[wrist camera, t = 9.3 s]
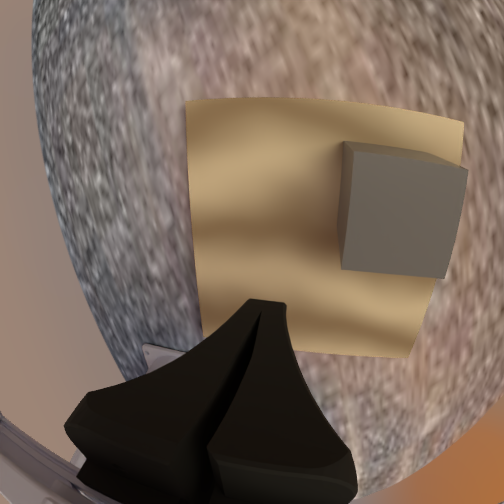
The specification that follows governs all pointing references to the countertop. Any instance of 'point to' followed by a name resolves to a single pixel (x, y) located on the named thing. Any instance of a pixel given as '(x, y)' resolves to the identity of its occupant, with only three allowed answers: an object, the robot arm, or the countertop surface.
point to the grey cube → (398, 210)
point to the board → (299, 218)
